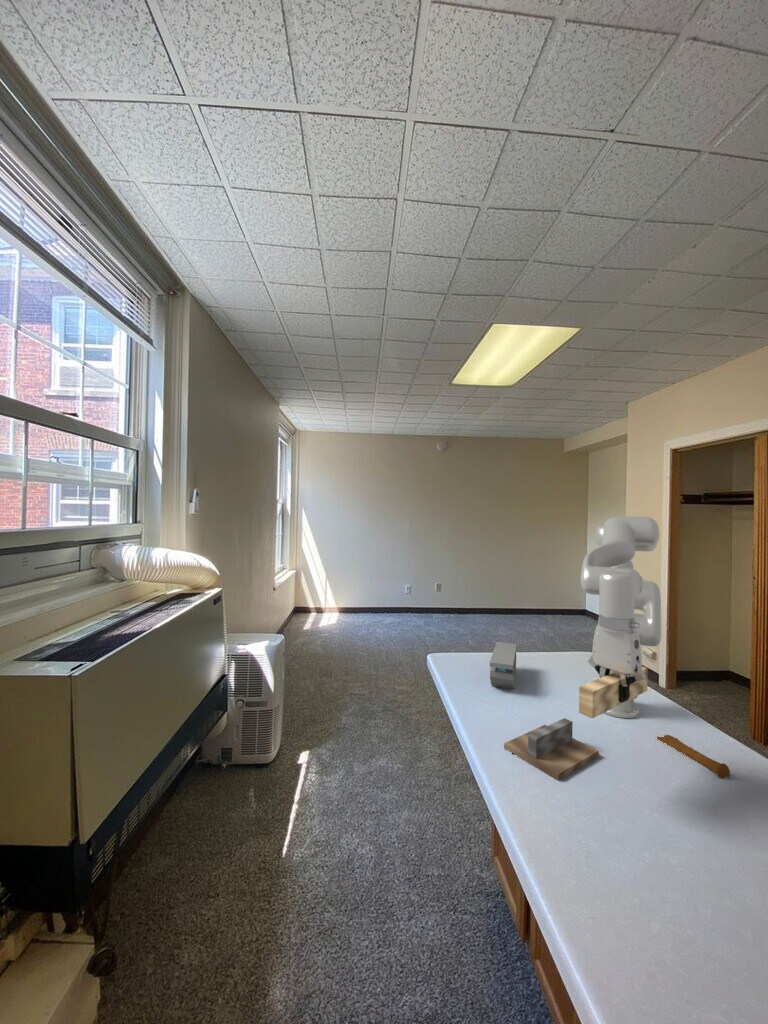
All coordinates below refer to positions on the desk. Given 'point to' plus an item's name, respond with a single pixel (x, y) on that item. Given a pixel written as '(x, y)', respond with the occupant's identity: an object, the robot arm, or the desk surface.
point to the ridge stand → (552, 749)
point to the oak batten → (606, 693)
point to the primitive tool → (696, 756)
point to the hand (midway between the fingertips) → (615, 697)
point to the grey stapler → (503, 665)
